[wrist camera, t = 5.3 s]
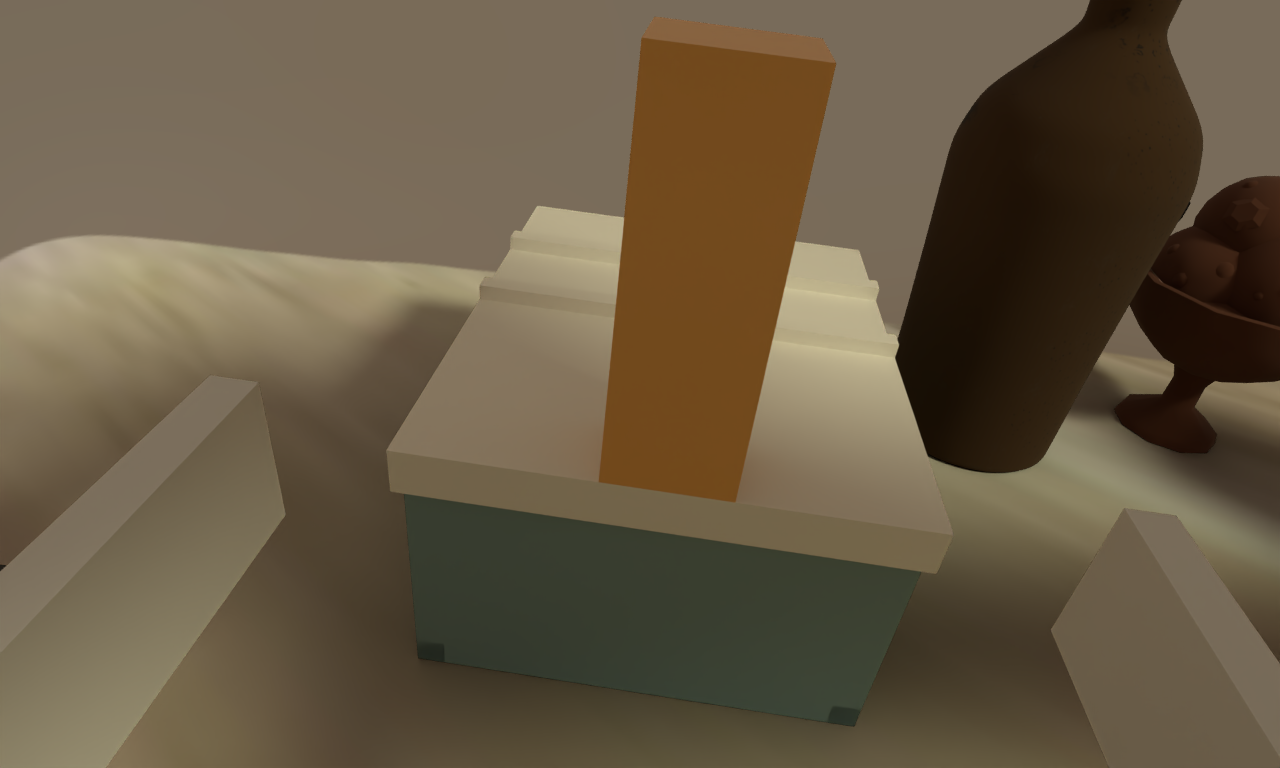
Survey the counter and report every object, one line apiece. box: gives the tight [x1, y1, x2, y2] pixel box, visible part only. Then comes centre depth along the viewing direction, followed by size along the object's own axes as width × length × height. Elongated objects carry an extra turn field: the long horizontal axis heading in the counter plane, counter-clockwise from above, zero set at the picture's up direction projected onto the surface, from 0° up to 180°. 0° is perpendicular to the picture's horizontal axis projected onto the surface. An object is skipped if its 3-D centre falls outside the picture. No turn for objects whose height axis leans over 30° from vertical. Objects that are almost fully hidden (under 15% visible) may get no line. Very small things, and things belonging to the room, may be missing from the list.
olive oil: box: [895, 0, 1203, 473], centre depth 38 cm, size 11×11×25 cm
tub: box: [404, 494, 921, 726], centre depth 34 cm, size 16×20×8 cm
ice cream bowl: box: [1114, 176, 1280, 453], centre depth 43 cm, size 11×11×15 cm
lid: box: [386, 17, 954, 574], centre depth 28 cm, size 17×21×14 cm
